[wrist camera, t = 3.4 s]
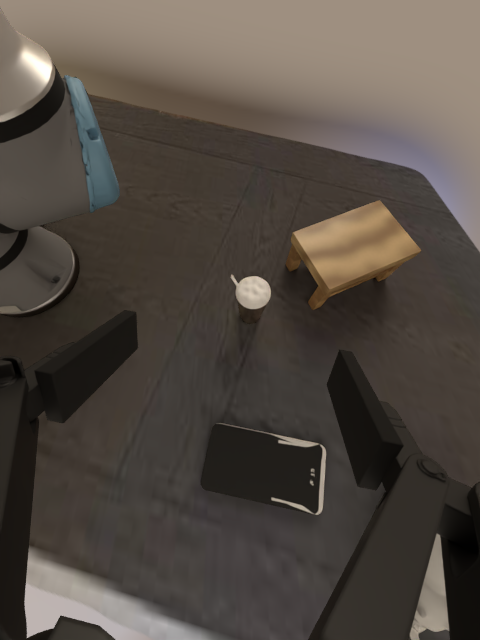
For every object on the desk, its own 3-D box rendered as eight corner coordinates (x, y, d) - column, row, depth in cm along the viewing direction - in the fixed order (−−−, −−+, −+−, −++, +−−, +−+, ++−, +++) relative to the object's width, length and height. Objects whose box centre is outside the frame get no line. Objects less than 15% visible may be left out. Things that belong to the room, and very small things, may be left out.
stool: (282, 263, 42) (292, 232, 35) (355, 235, 45) (379, 199, 37) (311, 312, 39) (329, 289, 32) (388, 279, 42) (421, 250, 34)
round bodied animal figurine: (351, 581, 28) (397, 651, 20) (383, 475, 32) (432, 497, 24) (414, 622, 27) (489, 713, 19) (439, 506, 30) (510, 542, 22)
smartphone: (213, 422, 32) (326, 445, 31) (214, 421, 34) (323, 444, 33) (199, 488, 30) (322, 516, 29) (200, 485, 31) (318, 511, 30)
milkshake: (238, 295, 40) (239, 261, 31) (268, 308, 39) (278, 277, 30) (226, 319, 39) (223, 290, 29) (257, 332, 38) (264, 308, 29)
